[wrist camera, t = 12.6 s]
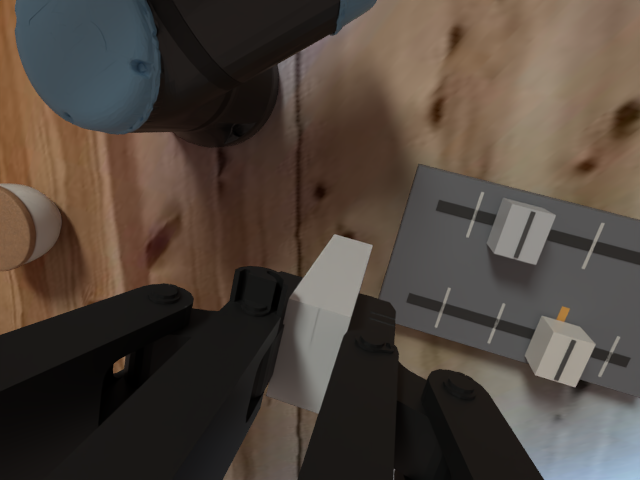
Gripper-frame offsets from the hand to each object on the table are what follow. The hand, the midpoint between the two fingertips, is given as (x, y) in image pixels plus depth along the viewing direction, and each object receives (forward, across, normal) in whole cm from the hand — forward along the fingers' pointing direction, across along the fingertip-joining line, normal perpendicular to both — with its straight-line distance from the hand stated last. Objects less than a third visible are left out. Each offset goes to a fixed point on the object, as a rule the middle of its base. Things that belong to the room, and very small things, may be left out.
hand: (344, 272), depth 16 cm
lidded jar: (+35, -44, -17) cm, 59 cm away
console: (+34, +18, -6) cm, 39 cm away
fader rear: (+31, +22, -12) cm, 40 cm away
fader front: (+31, +14, -1) cm, 34 cm away
